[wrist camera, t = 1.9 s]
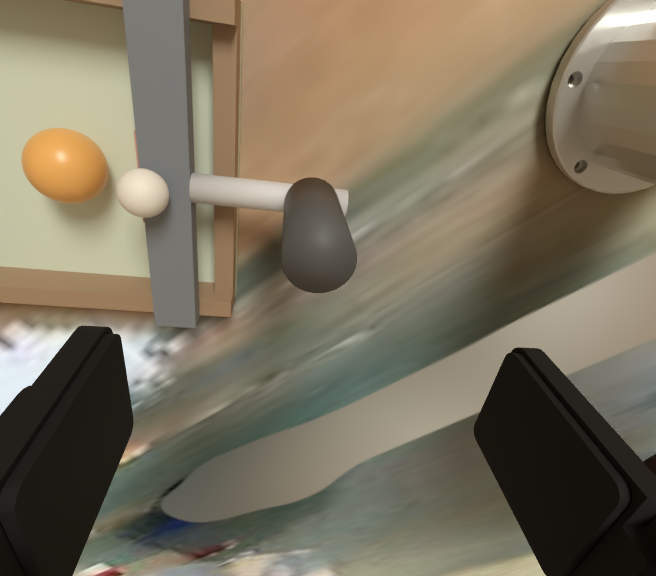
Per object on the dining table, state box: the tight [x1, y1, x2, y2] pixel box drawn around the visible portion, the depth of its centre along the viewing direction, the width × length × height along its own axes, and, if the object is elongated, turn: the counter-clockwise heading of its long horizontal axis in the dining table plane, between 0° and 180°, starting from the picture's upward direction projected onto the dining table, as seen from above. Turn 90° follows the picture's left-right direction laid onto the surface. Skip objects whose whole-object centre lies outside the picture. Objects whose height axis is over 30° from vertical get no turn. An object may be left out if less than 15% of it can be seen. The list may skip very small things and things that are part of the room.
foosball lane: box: [0, 0, 243, 317], centre depth 21 cm, size 22×18×6 cm
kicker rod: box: [116, 0, 357, 328], centre depth 20 cm, size 12×18×11 cm, turn 172°
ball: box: [21, 128, 109, 204], centre depth 21 cm, size 4×4×4 cm
